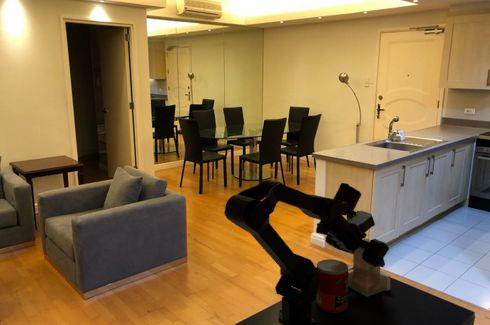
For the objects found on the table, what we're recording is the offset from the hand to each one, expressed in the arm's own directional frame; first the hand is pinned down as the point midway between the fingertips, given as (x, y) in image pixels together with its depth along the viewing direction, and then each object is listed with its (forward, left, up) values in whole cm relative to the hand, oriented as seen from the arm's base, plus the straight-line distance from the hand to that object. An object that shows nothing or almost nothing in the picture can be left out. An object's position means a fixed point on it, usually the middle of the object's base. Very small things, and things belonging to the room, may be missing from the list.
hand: (370, 259), depth 111 cm
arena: (-3, 0, -8) cm, 9 cm away
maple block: (-1, 0, -8) cm, 8 cm away
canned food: (-15, -2, -8) cm, 18 cm away
